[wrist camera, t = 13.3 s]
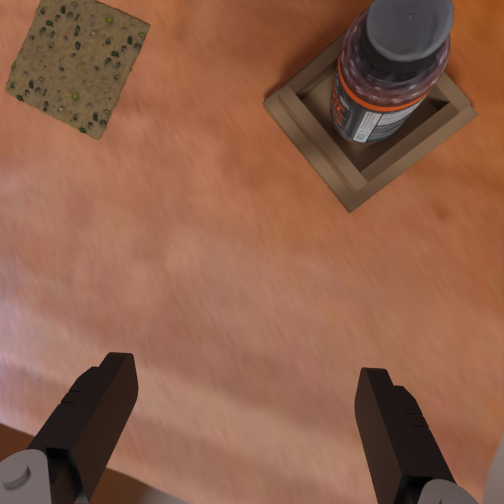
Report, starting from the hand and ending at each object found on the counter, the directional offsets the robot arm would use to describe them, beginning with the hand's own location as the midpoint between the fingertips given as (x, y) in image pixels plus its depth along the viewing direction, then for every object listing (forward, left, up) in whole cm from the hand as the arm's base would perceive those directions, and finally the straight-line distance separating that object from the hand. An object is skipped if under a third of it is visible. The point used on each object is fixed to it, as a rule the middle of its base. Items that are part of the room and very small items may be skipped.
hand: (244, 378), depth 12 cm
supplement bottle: (-8, +15, -17) cm, 24 cm away
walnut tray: (-8, +15, -18) cm, 25 cm away
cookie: (-30, -2, -18) cm, 35 cm away
